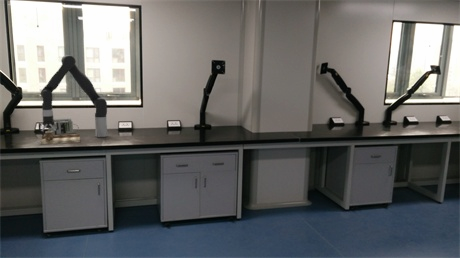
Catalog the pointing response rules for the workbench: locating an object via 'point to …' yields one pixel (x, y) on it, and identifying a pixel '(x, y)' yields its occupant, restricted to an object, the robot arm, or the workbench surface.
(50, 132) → the brown boxy piece
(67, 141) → the maple board
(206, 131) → the workbench surface
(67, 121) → the geiger counter
